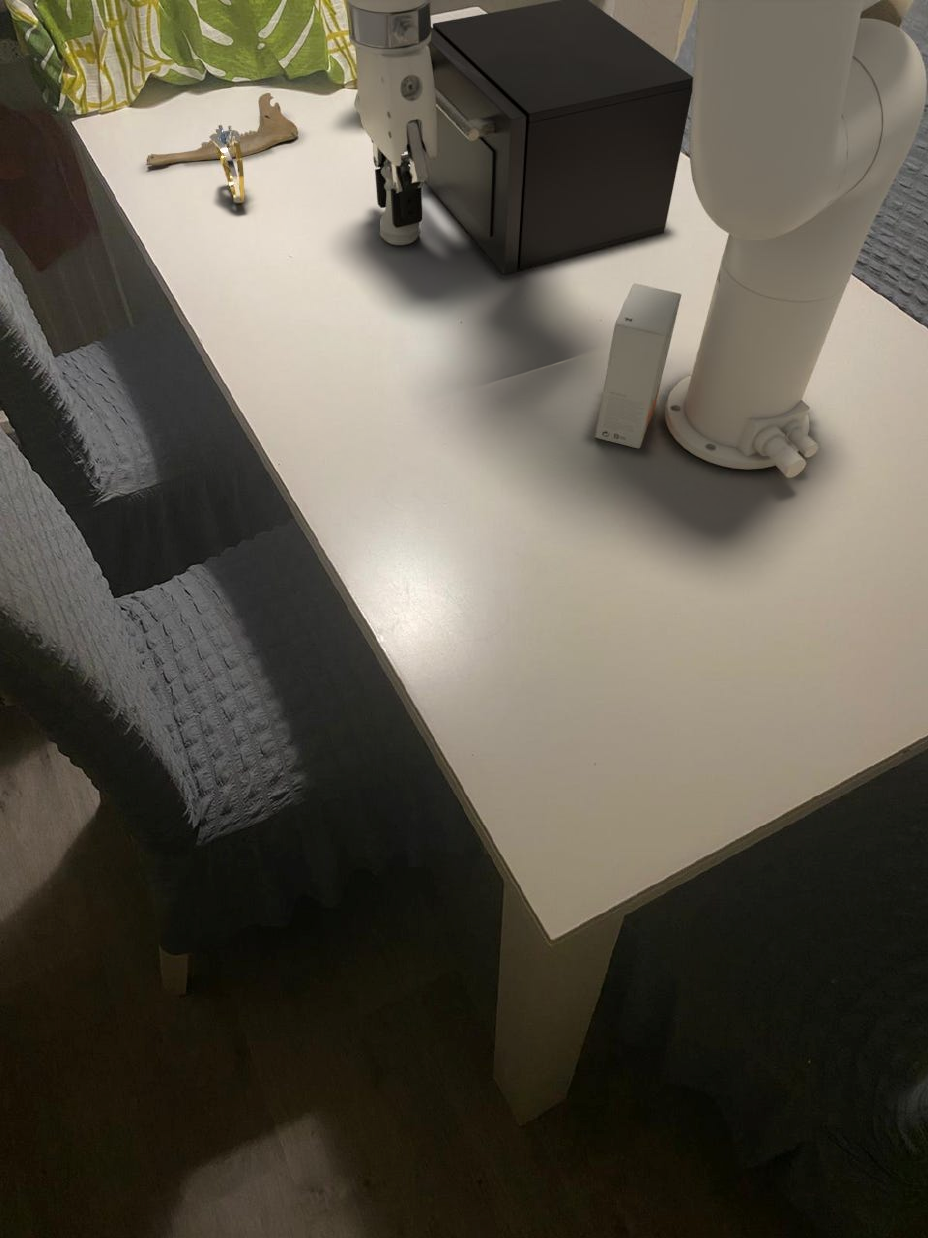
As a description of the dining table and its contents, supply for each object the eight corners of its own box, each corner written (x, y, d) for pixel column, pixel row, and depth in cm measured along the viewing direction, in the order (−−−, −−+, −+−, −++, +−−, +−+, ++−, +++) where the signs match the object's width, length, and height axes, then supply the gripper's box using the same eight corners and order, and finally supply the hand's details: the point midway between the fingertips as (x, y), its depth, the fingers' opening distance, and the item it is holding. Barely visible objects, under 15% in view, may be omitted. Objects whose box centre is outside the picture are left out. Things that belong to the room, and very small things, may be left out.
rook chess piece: (423, 225, 99) (420, 152, 93) (417, 247, 97) (415, 174, 90) (383, 223, 99) (377, 149, 93) (376, 245, 97) (371, 171, 90)
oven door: (477, 282, 93) (480, 126, 81) (396, 182, 105) (388, 32, 93) (517, 271, 95) (526, 116, 82) (433, 173, 106) (430, 24, 94)
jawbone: (319, 133, 113) (318, 116, 112) (194, 200, 104) (191, 183, 103) (269, 105, 116) (267, 88, 114) (143, 168, 107) (139, 151, 105)
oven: (519, 272, 95) (529, 113, 82) (435, 174, 107) (432, 22, 94) (664, 233, 99) (695, 77, 87) (568, 144, 111) (582, -5, 98)
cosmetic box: (640, 450, 79) (666, 335, 69) (593, 439, 80) (613, 323, 70) (656, 407, 82) (683, 291, 73) (611, 396, 83) (631, 280, 73)
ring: (257, 213, 101) (243, 141, 95) (229, 218, 101) (213, 146, 94) (245, 183, 105) (232, 111, 99) (218, 187, 105) (202, 116, 98)
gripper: (465, 48, 78) (464, 245, 93) (393, -19, 87) (402, 170, 101) (385, 64, 76) (396, 262, 91) (319, -7, 85) (340, 184, 100)
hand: (399, 212), depth 96 cm, fingers closed on rook chess piece, 3 cm apart
